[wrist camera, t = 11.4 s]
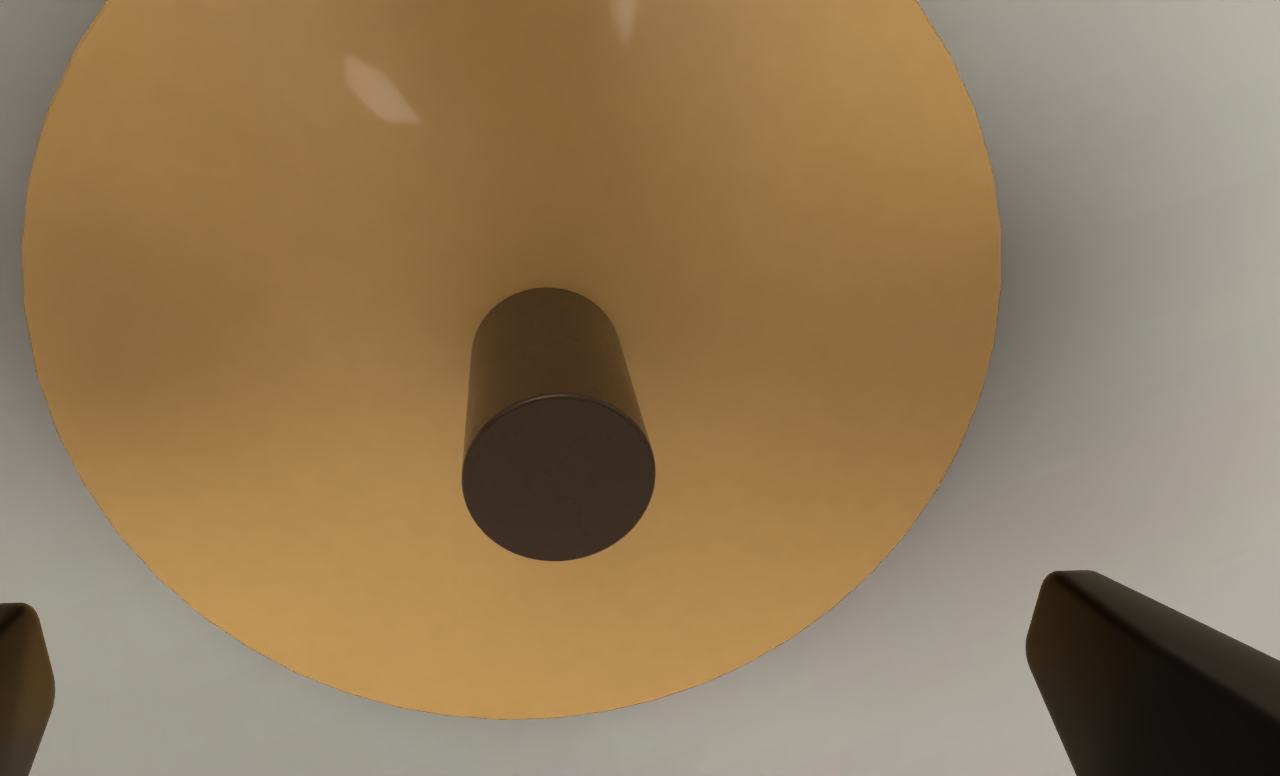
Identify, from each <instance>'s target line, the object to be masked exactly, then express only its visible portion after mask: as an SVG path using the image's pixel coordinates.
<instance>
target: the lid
mask: <svg viewBox="0 0 1280 776" xmlns="http://www.w3.org/2000/svg"><path fill="white" fill-rule="evenodd" d="M22 261H23V286H24V310H25V315H26V320H27V325H28V330H29V336H30V341H31V346H32V351H33V356H34V362H35V367H36V372H37V375H38V378H39V381H40V384H41V386H42V389H43V392H44V395H45V398H46V401H47V404H48V407H49V410H50V412H51V415H52V418H53V421H54V424H55V427H56V430H57V432H58V434H59V436H60V438H61V440H62V442H63V444H64V446H65V448H66V450H67V452H68V454H69V455H70V457H71V459H72V461H73V463H74V465H75V467H76V469H77V471H78V473H79V475H80V477H81V479H82V481H83V483H84V485H85V486H86V488H87V489H88V491H89V492H90V494H91V495H92V496H93V498H94V499H95V501H96V502H97V504H98V505H99V507H100V508H101V509H102V511H103V512H104V514H105V515H106V517H107V518H108V520H109V521H110V522H111V524H112V525H113V527H114V528H115V530H116V531H117V533H118V534H119V535H120V536H121V537H122V538H123V540H124V541H125V542H126V543H127V544H128V545H129V546H130V547H131V548H132V550H133V551H134V552H135V553H136V554H137V555H138V556H139V557H140V558H141V560H142V561H143V562H144V563H145V564H146V565H147V566H148V567H149V568H150V570H151V571H152V572H153V573H154V574H155V575H156V576H157V577H158V578H159V579H160V580H161V581H162V582H163V583H165V584H166V585H167V586H168V587H169V588H170V589H171V590H173V591H174V592H175V593H176V594H177V595H178V596H180V597H181V598H182V599H183V600H184V601H185V602H186V603H188V604H189V605H190V606H191V607H192V608H193V609H194V610H196V611H197V612H198V613H199V614H200V615H202V616H203V617H204V618H206V619H207V620H209V621H210V622H212V623H213V624H215V625H216V626H218V627H219V628H221V629H222V630H223V631H225V632H226V633H228V634H229V635H231V636H232V637H234V638H235V639H237V640H238V641H240V642H241V643H242V644H244V645H245V646H247V647H249V648H251V649H252V650H254V651H256V652H258V653H260V654H262V655H264V656H266V657H268V658H269V659H271V660H273V661H275V662H277V663H279V664H281V665H283V666H285V667H286V668H288V669H290V670H292V671H294V672H296V673H298V674H301V675H303V676H306V677H308V678H311V679H313V680H316V681H318V682H321V683H323V684H326V685H329V686H331V687H334V688H336V689H339V690H341V691H344V692H346V693H350V694H353V695H357V696H360V697H364V698H367V699H371V700H375V701H378V702H382V703H385V704H389V705H392V706H396V707H400V708H406V709H412V710H418V711H424V712H429V713H435V714H441V715H447V716H456V717H471V718H485V719H499V720H509V719H542V718H559V717H567V716H574V715H582V714H590V713H598V712H605V711H609V710H614V709H618V708H622V707H627V706H631V705H635V704H640V703H644V702H648V701H653V700H656V699H659V698H662V697H665V696H668V695H671V694H674V693H677V692H680V691H683V690H686V689H689V688H692V687H695V686H698V685H700V684H703V683H705V682H708V681H710V680H712V679H714V678H716V677H719V676H721V675H723V674H725V673H727V672H730V671H732V670H734V669H736V668H738V667H741V666H743V665H745V664H747V663H749V662H751V661H753V660H755V659H756V658H758V657H760V656H761V655H763V654H765V653H766V652H768V651H770V650H772V649H773V648H775V647H777V646H778V645H780V644H782V643H784V642H785V641H787V640H789V639H790V638H792V637H794V636H795V635H796V634H798V633H799V632H801V631H802V630H803V629H805V628H806V627H807V626H809V625H810V624H811V623H813V622H814V621H816V620H817V619H818V618H820V617H821V616H822V615H824V614H825V613H826V612H828V611H829V610H831V609H832V608H833V607H835V606H836V605H837V604H838V603H839V602H840V601H841V600H842V599H843V598H844V597H846V596H847V595H848V594H849V593H850V592H851V591H852V590H853V589H854V588H855V587H857V586H858V585H859V584H860V583H861V582H862V581H863V580H864V579H865V578H866V577H868V576H869V575H870V574H871V573H872V572H873V571H874V570H875V568H876V567H877V566H878V565H879V564H880V563H881V562H882V560H883V559H884V558H885V557H886V556H887V555H888V554H889V553H890V551H891V550H892V549H893V548H894V547H895V546H896V545H897V544H898V542H899V541H900V540H901V539H902V538H903V537H904V536H905V534H906V533H907V532H908V530H909V529H910V527H911V526H912V525H913V523H914V522H915V520H916V519H917V517H918V516H919V515H920V513H921V512H922V510H923V509H924V507H925V506H926V505H927V503H928V502H929V500H930V499H931V498H932V496H933V495H934V493H935V492H936V490H937V488H938V486H939V484H940V483H941V481H942V479H943V477H944V475H945V473H946V472H947V470H948V468H949V466H950V464H951V462H952V461H953V459H954V457H955V455H956V453H957V451H958V449H959V448H960V446H961V443H962V441H963V438H964V436H965V433H966V431H967V428H968V426H969V423H970V421H971V418H972V416H973V413H974V411H975V408H976V406H977V403H978V401H979V398H980V395H981V391H982V388H983V384H984V380H985V376H986V372H987V368H988V365H989V361H990V357H991V353H992V349H993V345H994V340H995V332H996V324H997V316H998V309H999V301H1000V293H1001V227H1000V220H999V213H998V206H997V198H996V191H995V184H994V177H993V171H992V167H991V164H990V160H989V156H988V153H987V149H986V146H985V142H984V139H983V135H982V132H981V128H980V125H979V121H978V118H977V114H976V111H975V109H974V107H973V104H972V102H971V100H970V98H969V95H968V93H967V91H966V89H965V86H964V84H963V82H962V80H961V77H960V75H959V73H958V71H957V68H956V66H955V64H954V62H953V59H952V57H951V55H950V53H949V52H948V50H947V48H946V47H945V45H944V44H943V42H942V40H941V39H940V37H939V36H938V34H937V32H936V31H935V29H934V28H933V26H932V24H931V23H930V21H929V20H928V18H927V17H926V15H925V13H924V12H923V10H922V9H921V7H920V5H919V4H918V2H917V1H916V0H107V2H106V3H105V5H104V6H103V8H102V9H101V11H100V12H99V14H98V15H97V17H96V18H95V20H94V21H93V23H92V24H91V26H90V27H89V28H88V30H87V31H86V33H85V34H84V36H83V37H82V39H81V40H80V42H79V43H78V45H77V47H76V50H75V52H74V54H73V56H72V58H71V60H70V63H69V65H68V67H67V69H66V71H65V73H64V76H63V78H62V80H61V82H60V84H59V86H58V89H57V91H56V93H55V95H54V97H53V99H52V102H51V104H50V106H49V108H48V111H47V115H46V118H45V122H44V126H43V129H42V133H41V136H40V140H39V143H38V147H37V151H36V154H35V158H34V161H33V165H32V169H31V172H30V176H29V185H28V193H27V202H26V211H25V219H24V228H23V237H22Z"/></svg>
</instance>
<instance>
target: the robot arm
mask: <svg viewBox="0 0 1280 776" xmlns="http://www.w3.org/2000/svg"><path fill="white" fill-rule="evenodd" d="M1026 656H1027V661H1028V664H1029V667H1030V670H1031V672H1032V674H1033V676H1034V679H1035V681H1036V683H1037V686H1038V688H1039V690H1040V693H1041V695H1042V697H1043V699H1044V702H1045V704H1046V706H1047V709H1048V711H1049V713H1050V716H1051V718H1052V720H1053V722H1054V725H1055V727H1056V729H1057V732H1058V734H1059V736H1060V739H1061V741H1062V743H1063V745H1064V748H1065V750H1066V752H1067V755H1068V757H1069V759H1070V762H1071V764H1072V766H1073V768H1074V771H1075V773H1076V775H1077V776H1280V661H1279V660H1277V659H1275V658H1273V657H1271V656H1269V655H1267V654H1265V653H1263V652H1260V651H1258V650H1256V649H1254V648H1252V647H1250V646H1248V645H1246V644H1244V643H1242V642H1240V641H1238V640H1236V639H1234V638H1232V637H1229V636H1227V635H1225V634H1223V633H1221V632H1219V631H1217V630H1215V629H1213V628H1211V627H1209V626H1207V625H1205V624H1203V623H1201V622H1198V621H1196V620H1194V619H1192V618H1190V617H1188V616H1186V615H1184V614H1182V613H1180V612H1178V611H1176V610H1174V609H1172V608H1170V607H1168V606H1165V605H1163V604H1161V603H1159V602H1157V601H1155V600H1153V599H1151V598H1149V597H1147V596H1145V595H1143V594H1141V593H1139V592H1137V591H1134V590H1132V589H1130V588H1128V587H1126V586H1124V585H1122V584H1120V583H1118V582H1116V581H1114V580H1112V579H1110V578H1108V577H1106V576H1104V575H1101V574H1099V573H1097V572H1094V571H1090V570H1072V571H1055V572H1052V573H1050V574H1049V575H1048V576H1047V577H1046V578H1045V579H1044V580H1043V583H1042V585H1041V589H1040V592H1039V596H1038V599H1037V603H1036V606H1035V610H1034V613H1033V616H1032V620H1031V623H1030V627H1029V630H1028V634H1027V638H1026ZM54 698H55V681H54V676H53V672H52V668H51V664H50V660H49V656H48V652H47V648H46V644H45V640H44V636H43V632H42V628H41V624H40V620H39V618H38V615H37V613H36V611H35V610H34V608H33V607H31V606H30V605H28V604H25V603H0V776H28V775H29V772H30V770H31V767H32V764H33V761H34V759H35V756H36V753H37V750H38V747H39V745H40V742H41V739H42V736H43V734H44V731H45V728H46V725H47V722H48V720H49V717H50V714H51V711H52V708H53V703H54Z"/></svg>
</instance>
